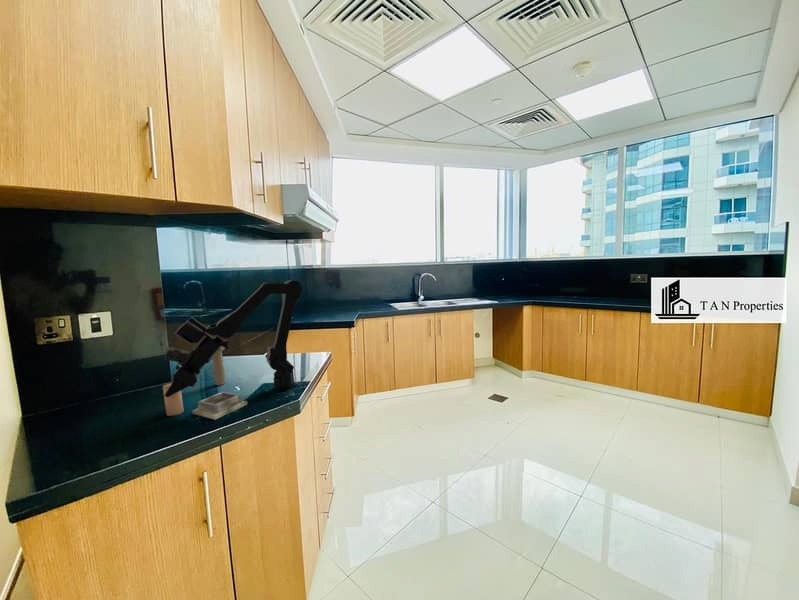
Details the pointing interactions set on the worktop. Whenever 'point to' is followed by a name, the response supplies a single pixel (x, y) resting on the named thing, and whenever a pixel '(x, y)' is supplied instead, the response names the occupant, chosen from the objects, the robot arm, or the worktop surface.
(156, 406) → the worktop surface
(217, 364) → the handle
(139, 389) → the worktop surface
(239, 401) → the socket board
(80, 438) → the worktop surface
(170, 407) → the peg
